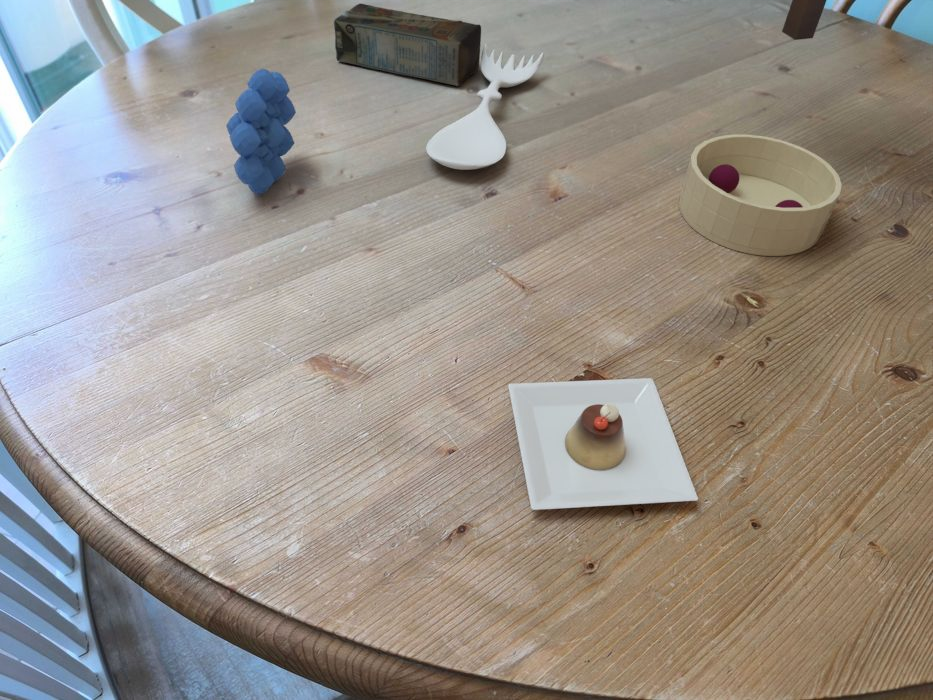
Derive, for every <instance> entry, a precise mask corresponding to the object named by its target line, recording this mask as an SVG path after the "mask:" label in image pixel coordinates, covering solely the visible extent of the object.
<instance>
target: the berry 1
mask: <svg viewBox="0 0 933 700" xmlns="http://www.w3.org/2000/svg"><path fill="white" fill-rule="evenodd" d="M709 181H710V182H711V183H712V184H713V185H715V186H716V187H718V188H720V189H721V190H723V191H725V192H726V193H730V192H732V191H733V190H734V189H735V188H736V187H737V186H738V183H739V173H738V171H737V170H736V169H735V168H734V167H733V166H731V165H727V164H724V165H719V166H717V167H716V168H714V169H713V170H712V172H711V173H710V176H709Z"/></svg>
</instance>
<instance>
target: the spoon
mask: <svg viewBox="0 0 933 700" xmlns="http://www.w3.org/2000/svg"><path fill="white" fill-rule="evenodd" d="M495 58H496V48H494V49H492V51H491V53H490V55H488V44H487V43H485V44H484V46H483V48H482V50H481V55H480V71H481V73H482V75H483V76H484V78H485V79H486V80H487V81H488V82H489V85H488V87H486V88H484V89H481V90H478V92H477V93H476V94H477V98H480V99H481V102H480V103H479V105H478V106H477V108H475V109H474V110H473V111H472V112H471V111H470V113H468V114H466V115H464V116H463V117H461V118H460V119H458V120H456V121H454V122H452V123H450V124H449V125H446V126H445V127H443V128H441V129H440V130H439V131H438V132H436V133H435V134H434V135H433V136H432V137H431V138H430V139H429V140H428V142H427V143H426V147H425V150H426V152H427V154H428V156H429V157H430V158H431V159H432V160H433V161H435V162H436V163H438V164H439V165H442V166H444V167H446V168H450V169H454V170H461V171H462V170H463V171H464V170H465V171H466V170H469V171H471V170H478V169H483V168H486V167H489V166H492V165H494V164H496V163H498V162H499V161H500V160H501V159H503V157H504V156H505V154H506V151H507V141H506V138H505V136H504V134H503V132H502V131H501V129H500V127H499V126H498V125H497V123H496V122H495V120H494V119H493V117H492V115H491V113H490V104H491V103H492V102H496V101H499V100H501V99H502V96H503V95H502V93H500V92H499V89H500V88H512V87H515V86H518V85H520V84H522V83H525V82H526V81H528V80H529V79H530V78H531V77H532V76H533V75H534V74H535V73H536V71H537V70H538V68H539V67H540V66H541V65H542V63H543V61H544V58H545V53H544V52H541V54H540V55H539V56H538V58H537V59H536V60H535V61H534V59H535V53H533V54H532V55H531V56H530V58H529V60H528V61H527V63H526V64H525V62H526V54H524V55H523V56H522V58H521V60H520V62H519V63H518V65H517V66H516V68H515V63H516V56H515V54H514V53H513V54H511V55H510V56H509V58H508V60H507V61H506V63H505V65H504V67H502V66H503V65H502V64H503V58H504V51H503V50H502V51H501V53H500V54H499V57H498V58H497V60H496V62H495Z"/></svg>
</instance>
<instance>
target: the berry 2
mask: <svg viewBox="0 0 933 700" xmlns="http://www.w3.org/2000/svg"><path fill="white" fill-rule="evenodd" d="M775 207H781V208H801V207H803V206H802V205H801V204H800V203H799V202H797V201H795V200H784V201H782V202H780V203H778V204H777V205H776V206H775Z"/></svg>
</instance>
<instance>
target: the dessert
mask: <svg viewBox="0 0 933 700" xmlns="http://www.w3.org/2000/svg"><path fill="white" fill-rule="evenodd" d="M507 387H508V393H509V397H510V402H511V408H512V414H513V420H514V423H515V429H516V434H517V441H518V446H519V450H520V451H519V452H520V457H521V461H522V466H523V472H524V477H525V482H526V488H527V494H528V498H529V504H530V508H531V510H532V511H540V510H556V509H572V508H573V509H574V508H589V507H607V506H609V507H610V506H624V505H626V506H627V505H640V504H641V505H644V504H659V503H660V504H661V503H676V502H677V503H678V502H695V501H698V500H699V497H698V494H697V492H696V489H695V487H694V484H693V481H692V479H691V475H690V473H689V471H688V468H687V465H686V463H685V460H684V457H683V455H682V453H681V450H680V447H679V445H678V442H677V439H676V437H675V434H674V431H673V428H672V426H671V423H670V420H669V418H668V415H667V413H666V410H665V408H664V405H663V403H662V400H661V397H660V394H659V392H658V389H657V387H656V384H655V382H654V379H653V378H651V377H643V378H642V377H641V378H620V379H619V378H618V379H595V380H594V379H592V380H569V381H550V382H549V381H545V382H544V381H543V382H541V381H540V382H522V383H521V382H518V383H509V384H508V385H507Z"/></svg>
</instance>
